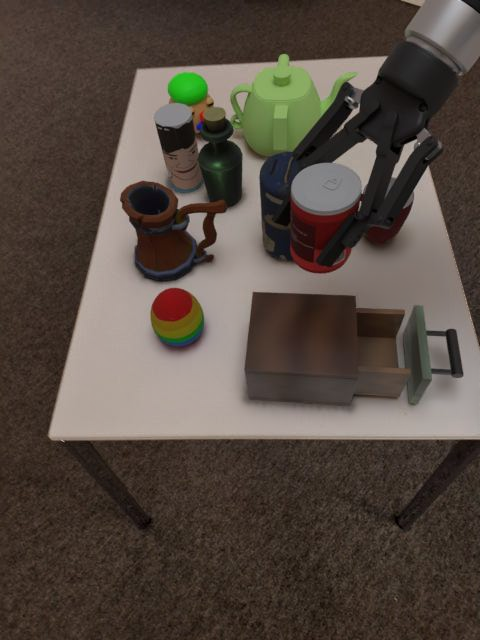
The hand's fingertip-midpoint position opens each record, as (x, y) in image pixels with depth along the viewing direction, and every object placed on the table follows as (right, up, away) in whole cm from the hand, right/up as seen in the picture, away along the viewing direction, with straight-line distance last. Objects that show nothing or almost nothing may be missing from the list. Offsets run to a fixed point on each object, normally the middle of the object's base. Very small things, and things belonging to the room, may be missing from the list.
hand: (300, 242), depth 58 cm
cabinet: (+2, -16, +16) cm, 22 cm away
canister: (+2, +4, +29) cm, 29 cm away
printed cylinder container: (-18, +19, +40) cm, 48 cm away
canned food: (+3, -1, +4) cm, 5 cm away
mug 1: (-17, +2, +29) cm, 34 cm away
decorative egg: (-17, -11, +21) cm, 29 cm away
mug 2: (+16, +6, +29) cm, 34 cm away
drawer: (+14, -16, +13) cm, 25 cm away
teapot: (+3, +30, +45) cm, 54 cm away
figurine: (-17, +32, +49) cm, 61 cm away
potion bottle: (-10, +15, +37) cm, 41 cm away
